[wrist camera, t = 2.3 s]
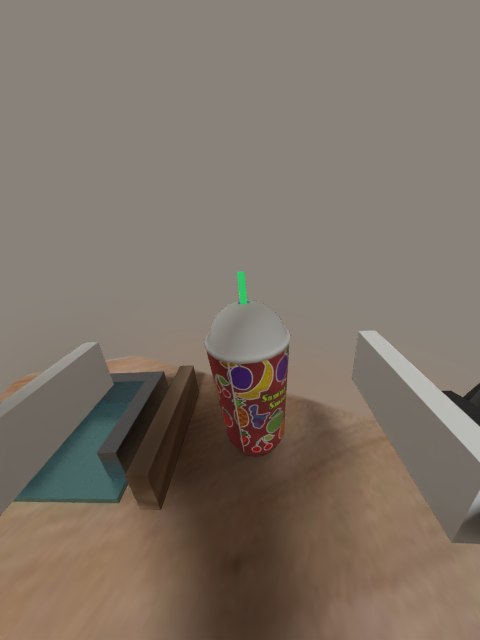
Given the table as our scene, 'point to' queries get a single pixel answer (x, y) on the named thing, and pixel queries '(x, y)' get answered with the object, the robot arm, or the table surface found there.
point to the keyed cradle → (101, 444)
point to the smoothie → (250, 372)
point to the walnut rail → (163, 442)
